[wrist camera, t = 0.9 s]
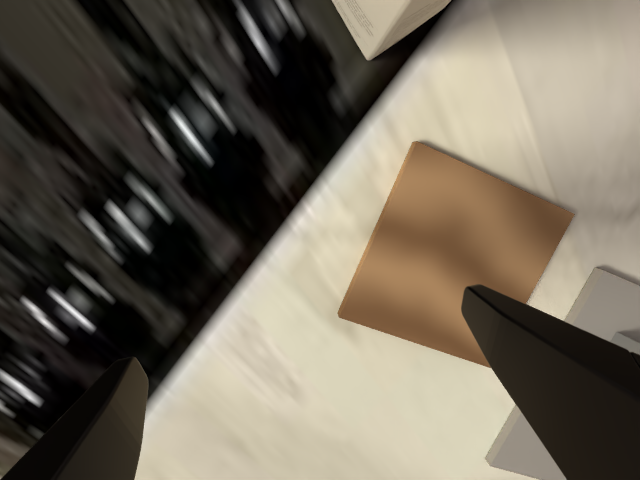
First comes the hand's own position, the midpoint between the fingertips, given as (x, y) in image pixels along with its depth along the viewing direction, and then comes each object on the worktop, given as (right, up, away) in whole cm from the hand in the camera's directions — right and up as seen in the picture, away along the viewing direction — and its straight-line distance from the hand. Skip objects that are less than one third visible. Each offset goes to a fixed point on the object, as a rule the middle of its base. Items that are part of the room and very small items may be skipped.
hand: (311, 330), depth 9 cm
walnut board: (+11, +1, +17) cm, 20 cm away
